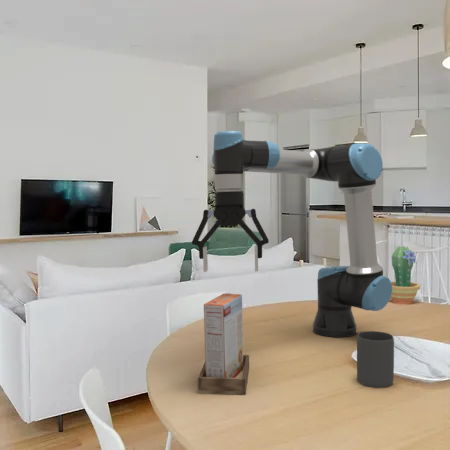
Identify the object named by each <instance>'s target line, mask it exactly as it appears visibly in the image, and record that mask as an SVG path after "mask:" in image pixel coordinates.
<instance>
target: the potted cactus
mask: <svg viewBox="0 0 450 450" xmlns="http://www.w3.org/2000/svg"><path fill="white" fill-rule="evenodd" d="M416 259H417V255H416V253H415V252H414V251H412V250H411V249H410V248H409V246H401V245H400V246H397V247H396V248H395V250H394V251H393V253H392V254H391V266H392V269H393V270H394V277H395V278H394V279H395V280H394V281H391V283H392V294H391V297H390V299H392V300H391V303H393V304H397V305H398V304H399V305H411V304H413V302H414V301H413V300H414V299H415V298H416V296H417V293H418V291H419V290H420V288H421V284H419V283H416V282H411V279H412V278H411V274H412V268H413V266H414V264H416Z"/></svg>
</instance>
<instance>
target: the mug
mask: <svg viewBox="0 0 450 450" xmlns="http://www.w3.org/2000/svg"><path fill="white" fill-rule="evenodd" d="M394 339H395V338H394V335H392V334H391V333H388V332H384V331H379V330H378V331H376V330H375V331H374V330H372V331H371V330H370V331H367V330H365V331H360V332H358V334H357V338H356V379H357V382H358V383H360V385H361V384H362V385H363V386H366V387H369V388H370V387H371V388H380V389H381V388H387V387H390V386H392V385H393V383H394V375H395V373H394V372H395V360H394V359H395V340H394Z"/></svg>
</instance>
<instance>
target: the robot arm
mask: <svg viewBox="0 0 450 450" xmlns="http://www.w3.org/2000/svg"><path fill="white" fill-rule="evenodd" d="M211 161H212V164H213V167H214V189H215V190H216V191H215V193H214V201H215V202H214V206H215V208H214V210H209V209H204V210H203V214H202V219H201V221H200V224H199V226H198V228H197V230H196V232H195V235H194V236H193V239H192V241H191V244H192V245H193V246H197V247H198V257H199V259H200V260H202V261H203V262H202V264H203V273H204V272H205V273H207V272H208V269H209V266H208V246H207V245H205V244H206V243H207V242H208V241H209V239H211V238H212V236H213V235H214V233H216V231H217V230H218V228H219V227H220V226H223V227H230V226H231V227H237V226H238V225H239V226H240V227H241V229H243V231H244V232H245V233H246V234H247V235H248V236H249V238H251V239H252V240H253V242H254V243H255V244H256V245H254V272H259V259H262V258H263V246H264V245H267V244H269V240H270V239H269V238H268V235H267V234H266V232H265V231H264V228H263V226H262V224H261V222H260V221H259V219H258V217H257V212H256V208H250V209H245V206H244V205H245V204H244V203H245V202H244V199H245V198H244V193H245V192H244V191H242V190H243V189H244V172H247V173H248V172H249V173H263V174H264V173H266V174H267V173H269V174H283V175H299V176H301V177H303V178H304V179H314V180H320V181H327V182H337V184H338V185H337V186H338V189H339V190H340V191H341V192H342V193H343V197H344V208H345V219H346V230H347V242H348V253H349V255H348V256H349V263H350V264H349V265H340V266H339V265H338V266H328V267H322V268H320V269H319V270H318V272H317V280H316V281H317V311H316V314H315V317H314V320H313V322H312V332H314V333H315V334H317V335H319V336H325V337H329V338H330V337H333V338H344V337H351V336H353V335H356V334H357V323H356V320H355V317H354V313H353V310H352V307H354V308H357V309H362V310H364V311H373V312H378V311H381V310H383V309H384V308H385V307H386V306H387V304H388V302H389V301H390V300H391V294H392V283H391V282H392V281H391V279H390V278H389V277H387V276H386V275H384V271H383V270H384V268H383V266H382V265H380V264H379V263H378V254H377V242H376V230H375V219H374V218H375V217H374V216H375V215H374V204H373V195H372V194H373V192H372V190H373V189H374V188H375V186H376V185H377V179H379V178H380V176H381V175H382V171H383V168H384V167H383V159H382V156H381V153H380V152H379V150H378V149H377V148H376V147H375V146H374V145H372V144H370V143H366V142H364V143H363V142H360V143H359V142H358V143H357V142H356V143H352V144H351V143H350V144H344V145H336V146H335V145H334V146H328V147H323V148H322V147H321V148H307V149H304V150H303V151H300V150H292V149H291V150H289V149H280V147H279V146H278V144H277V143H276V142H273V141H267V140H246V139H244V137H243V133H242V132H241V131H238V130H223V131H218V132H216V133H215V134H214V138H213V154H212V157H211ZM246 215H247V216H248V217H249V218H251V220H252V222H253V224H254V226H255V227H256V230H257V231H258V233H259V235H260V237H261V239H260V238H259V237H258V236H257V235H256V234H255V232H254V231H253V230H252V229H251V228H250V227H249V226H248V224H247V223H246V222H245V221H244V220H243V219H244V217H246ZM212 216H214V218H216V219H215V220H216V222H215V223H214V224H213V226H212V227H211V228H210V229H209V230H208V232H207V233H206V234H205V235H204V236H203V238H202V239H201V240H200V238H201V236H202V234H203V232H204V229H205V227H206V225H207V223H208V221H209V219H211V218H212Z"/></svg>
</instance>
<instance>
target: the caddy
mask: <svg viewBox="0 0 450 450" xmlns="http://www.w3.org/2000/svg"><path fill="white" fill-rule="evenodd" d="M243 365H244V368H243V370H242V371H241V372H240V373H239V374H238V375H237V376H236V377H235V378H222V377H206V366H205V362H203V365H202V367H201V370H200V373H199V375H198V377H197V387H198V389H197V392H198V394H207V395H208V394H209V395H210V394H213V395H246V393H247V387H248V381H249V373H250V355H249V354H243Z"/></svg>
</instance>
